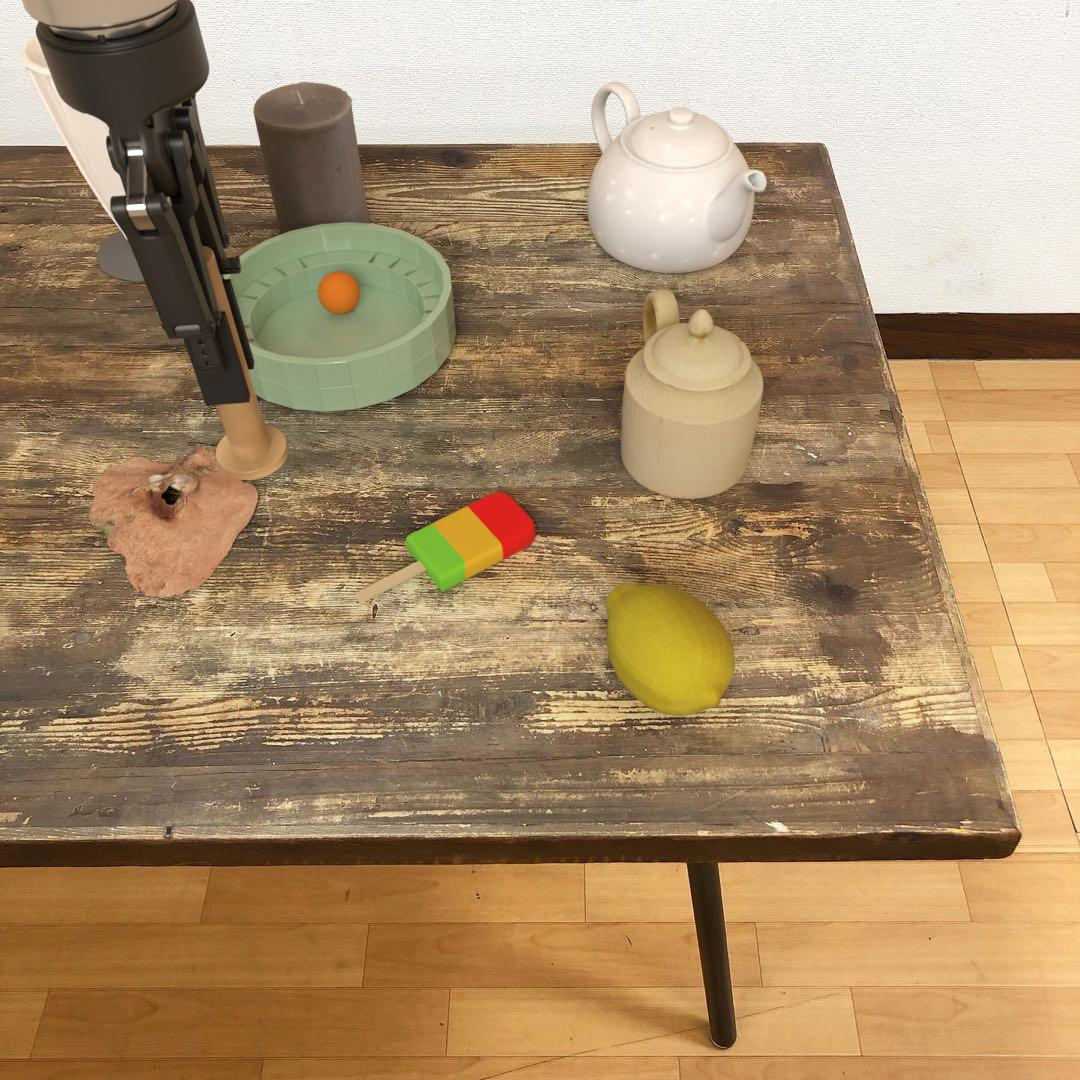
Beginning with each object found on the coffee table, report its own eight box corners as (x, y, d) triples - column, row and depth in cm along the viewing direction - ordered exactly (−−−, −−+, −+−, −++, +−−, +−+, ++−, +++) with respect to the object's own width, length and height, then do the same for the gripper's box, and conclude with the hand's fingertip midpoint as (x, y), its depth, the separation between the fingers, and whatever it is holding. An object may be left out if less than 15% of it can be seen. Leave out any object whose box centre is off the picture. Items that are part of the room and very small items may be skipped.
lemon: (753, 718, 74) (770, 650, 68) (654, 762, 72) (662, 696, 66) (673, 607, 80) (682, 536, 74) (580, 644, 78) (582, 574, 72)
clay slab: (237, 592, 82) (228, 566, 80) (63, 598, 82) (49, 573, 79) (263, 457, 91) (255, 431, 89) (107, 463, 91) (95, 437, 89)
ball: (321, 324, 103) (313, 289, 100) (321, 299, 105) (315, 264, 102) (362, 320, 103) (356, 286, 100) (362, 296, 106) (356, 261, 103)
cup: (94, 231, 115) (17, 26, 99) (202, 212, 117) (144, 8, 101) (99, 291, 108) (17, 81, 92) (214, 269, 110) (154, 60, 94)
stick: (214, 483, 72) (142, 284, 60) (222, 434, 75) (155, 236, 63) (286, 477, 72) (228, 278, 60) (290, 429, 76) (236, 230, 63)
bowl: (218, 426, 94) (201, 373, 90) (236, 283, 109) (222, 231, 104) (463, 405, 96) (458, 352, 91) (449, 266, 110) (444, 214, 105)
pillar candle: (283, 258, 111) (252, 120, 100) (276, 209, 118) (246, 74, 106) (376, 244, 113) (355, 107, 101) (364, 197, 119) (344, 62, 108)
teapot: (758, 193, 118) (776, 71, 108) (750, 290, 106) (770, 163, 96) (591, 179, 121) (593, 59, 111) (564, 274, 109) (565, 148, 99)
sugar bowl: (562, 428, 93) (562, 283, 82) (651, 373, 98) (663, 229, 87) (687, 522, 86) (705, 376, 75) (777, 457, 91) (807, 311, 79)
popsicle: (542, 541, 85) (541, 526, 83) (376, 630, 79) (372, 614, 78) (503, 500, 88) (502, 484, 86) (341, 583, 82) (337, 567, 81)
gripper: (169, 76, 46) (281, 463, 64) (208, -61, 57) (296, 305, 74) (-8, 88, 46) (154, 474, 64) (65, -52, 56) (187, 314, 74)
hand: (230, 382), depth 69 cm, fingers closed on stick, 3 cm apart
